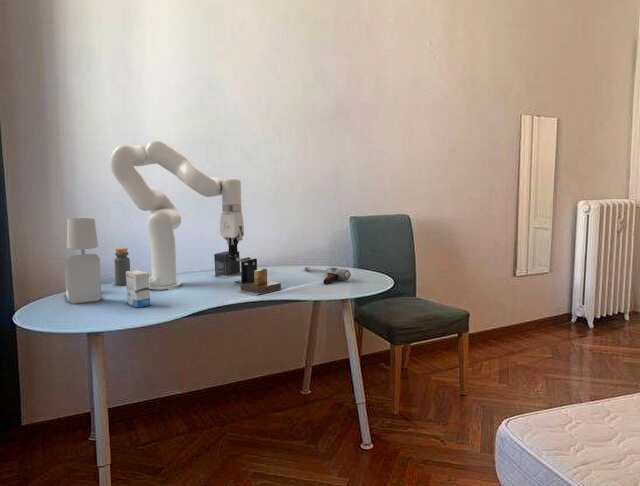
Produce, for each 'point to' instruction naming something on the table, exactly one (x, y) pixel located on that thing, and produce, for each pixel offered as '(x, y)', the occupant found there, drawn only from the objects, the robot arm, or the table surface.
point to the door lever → (237, 259)
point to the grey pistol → (333, 274)
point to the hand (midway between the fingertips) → (233, 254)
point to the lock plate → (261, 287)
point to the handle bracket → (248, 271)
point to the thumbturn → (260, 276)
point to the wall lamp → (82, 262)
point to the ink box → (138, 288)
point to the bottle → (121, 266)
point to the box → (226, 264)
